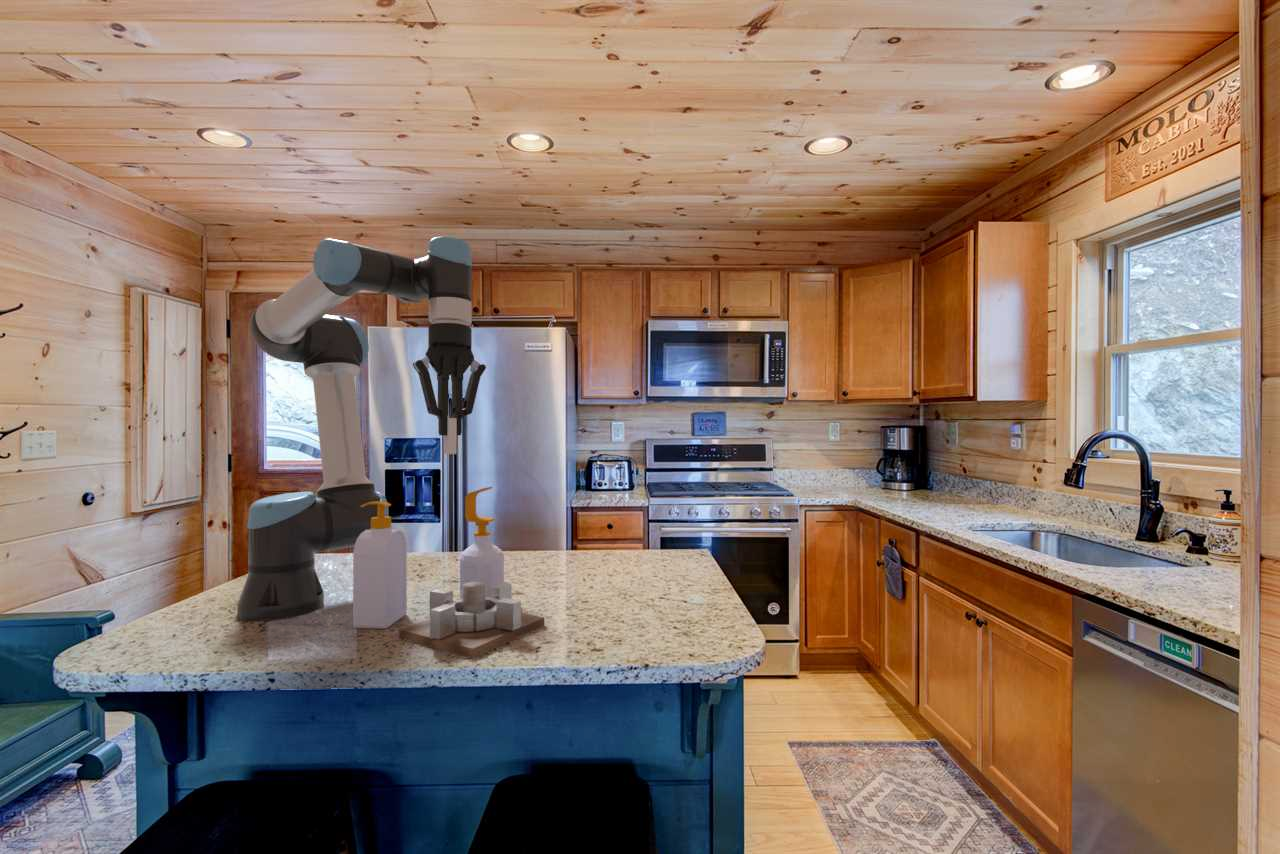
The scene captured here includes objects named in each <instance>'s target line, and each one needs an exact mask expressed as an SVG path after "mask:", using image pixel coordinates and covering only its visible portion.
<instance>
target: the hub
mask: <svg viewBox="0 0 1280 854" xmlns="http://www.w3.org/2000/svg"><path fill="white" fill-rule="evenodd" d="M484 610H485V583H483V582H470V583H466V584H464V585H463V593H462V612H479V611H484ZM544 626H545V617H544V616H540V615H535V614H529V613H523V612H521V627H519V628H517V629H515V630H513V631H512V630H507V629H501V628H496V627H493V628H489V629H484V630H480V631H476V630H474V631H473V632H468V631H455V633H453V634H451V635H448V636H446V637H444V638H442V639H437V638H431V637H430V618H428V619H426V620H423V621H420V622H416V623H414V624H412V625H408V626H405V627H403V628H400V629H398V638H399V639H402V640H405V641H408V642H412V643H416V644H420V645H422V646H423V645H424V646H428V647H431V648H433V649H434V648H435V649H438V650H442V651H446V652H449V653H453V654H457V655H460V656H464V657H468V658H472V659H474V658H476V657H477V656H480V655H482V654H484V653H486V652H489V651H491V650H493V649H496V648H498V647H500V646H502V645H504V644H506V643H509V642H511V641H513V640H515V639H517V638H520V637H523V636H524V635H526V634H528V633H530V632H531V633H532V632H533V631H535V630H537V629H540V628H542V627H544Z"/></svg>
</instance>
